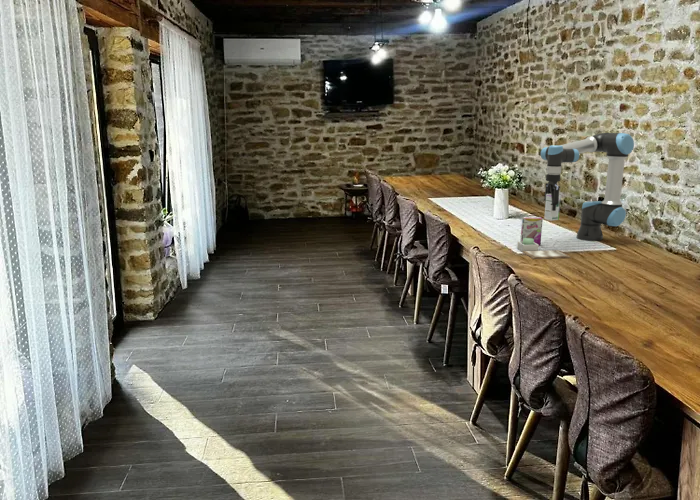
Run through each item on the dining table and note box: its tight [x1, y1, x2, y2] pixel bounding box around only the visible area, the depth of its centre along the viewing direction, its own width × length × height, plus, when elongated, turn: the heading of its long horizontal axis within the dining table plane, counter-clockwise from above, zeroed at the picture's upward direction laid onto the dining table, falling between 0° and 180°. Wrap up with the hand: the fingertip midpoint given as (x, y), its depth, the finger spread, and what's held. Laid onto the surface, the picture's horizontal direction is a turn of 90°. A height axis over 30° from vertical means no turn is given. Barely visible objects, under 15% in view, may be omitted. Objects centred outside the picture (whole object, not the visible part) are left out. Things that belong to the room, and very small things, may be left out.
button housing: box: [516, 241, 540, 253], centre depth 347 cm, size 9×9×4 cm
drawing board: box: [522, 249, 572, 260], centre depth 335 cm, size 21×15×1 cm
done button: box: [523, 238, 534, 245], centre depth 346 cm, size 6×6×4 cm
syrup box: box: [543, 193, 562, 221], centre depth 339 cm, size 6×6×14 cm
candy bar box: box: [519, 216, 543, 246], centre depth 359 cm, size 11×5×16 cm, turn 84°
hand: (550, 215), depth 340 cm, fingers closed on syrup box, 7 cm apart
